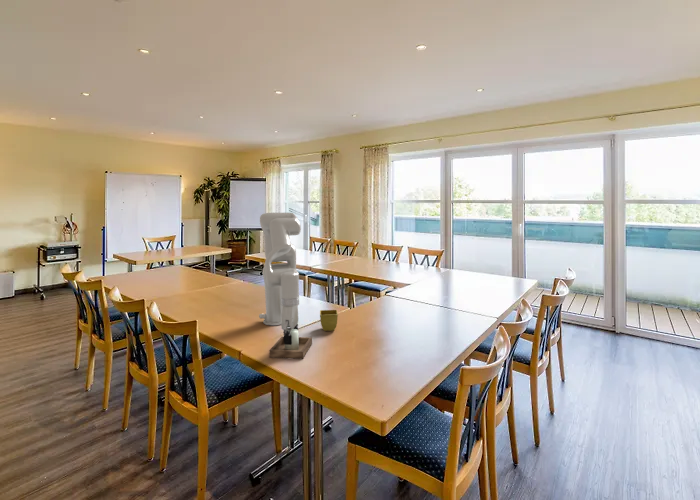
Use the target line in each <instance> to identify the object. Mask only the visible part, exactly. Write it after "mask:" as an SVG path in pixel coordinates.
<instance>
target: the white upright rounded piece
mask: <svg viewBox="0 0 700 500" xmlns="http://www.w3.org/2000/svg"><path fill="white" fill-rule="evenodd" d="M287 331H288V332H289V330H287ZM291 335H292V344H291V345H285V350H296V351H298V350H299V337H300V335H299V329H298V330H297V329H292V330H291Z"/></svg>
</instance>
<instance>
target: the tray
mask: <svg viewBox="0 0 700 500" xmlns="http://www.w3.org/2000/svg"><path fill="white" fill-rule="evenodd" d="M312 345H313V337H312V336H311V337H307V336H301V337H300V336H299V350H298V351H296V350H285V344H284V336H281V337H280V338H279V339H278V340H277V341H276V342H275V343H274V345H273V346H272V347H271V348H270V349H269V350H268V352H269V358H270V359H288V358H293V359H294V360H304V358H305V357H306V355H307V354H308V351H310V348H311V347H312Z"/></svg>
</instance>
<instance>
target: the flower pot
mask: <svg viewBox="0 0 700 500" xmlns="http://www.w3.org/2000/svg"><path fill="white" fill-rule="evenodd" d="M338 316H339V314H338V309H323V310H322V309H321V310H319V319H320V326H321V328H322V330H323V331H324V332H330V331H332V332H334V331H335V330H336V328H337V324H338Z"/></svg>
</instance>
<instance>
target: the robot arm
mask: <svg viewBox="0 0 700 500" xmlns="http://www.w3.org/2000/svg"><path fill="white" fill-rule="evenodd" d="M259 224H260V228H261V230H262V232H263V235H264V256H265V262H264V267H263V268H262V277H263V283H264V291H265V292H264V293H265V295H264V296H265V297H264V298H265V313H259V314H258V317H259V319H263V324H264V325H266V326H280V325H281V330H283V337H284V344H285V345H291V344H292V335H291V330H292V329H297V330H298V331H299V307H298V306H299V305H300V281H299V280H300V273H299V271H298V270H297V250H296V246H295V245H294V244H292V243H291V238H290V236H298V235H300V233H301V229H302V228H301V223H300V220H299V219H298V216H297V215H296V214H295V213H292V212H265V213H262V214H260V216H259ZM278 262H279V263H278ZM281 262H283V263H281ZM287 330H289V332H288V331H287Z"/></svg>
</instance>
